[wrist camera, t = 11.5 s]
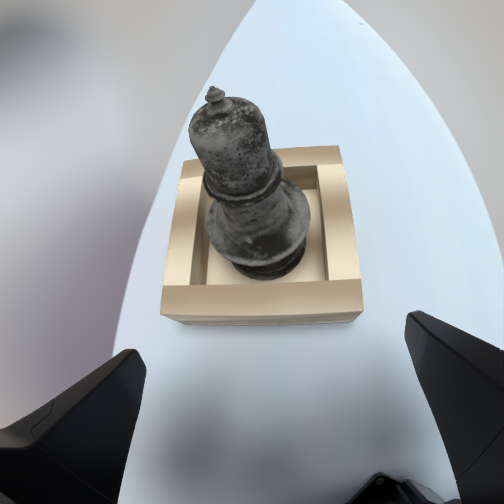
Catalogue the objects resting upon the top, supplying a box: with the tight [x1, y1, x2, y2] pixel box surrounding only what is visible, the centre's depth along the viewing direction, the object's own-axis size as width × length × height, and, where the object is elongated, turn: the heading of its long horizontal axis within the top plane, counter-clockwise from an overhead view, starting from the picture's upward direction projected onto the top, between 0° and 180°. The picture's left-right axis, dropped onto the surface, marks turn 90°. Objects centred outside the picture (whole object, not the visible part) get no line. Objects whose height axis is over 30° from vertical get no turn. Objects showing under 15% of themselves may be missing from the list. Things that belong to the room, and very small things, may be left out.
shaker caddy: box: [160, 145, 364, 325], centre depth 18 cm, size 11×11×4 cm
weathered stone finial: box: [188, 86, 311, 281], centre depth 13 cm, size 6×6×12 cm
